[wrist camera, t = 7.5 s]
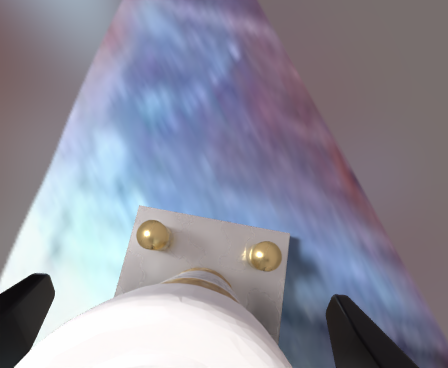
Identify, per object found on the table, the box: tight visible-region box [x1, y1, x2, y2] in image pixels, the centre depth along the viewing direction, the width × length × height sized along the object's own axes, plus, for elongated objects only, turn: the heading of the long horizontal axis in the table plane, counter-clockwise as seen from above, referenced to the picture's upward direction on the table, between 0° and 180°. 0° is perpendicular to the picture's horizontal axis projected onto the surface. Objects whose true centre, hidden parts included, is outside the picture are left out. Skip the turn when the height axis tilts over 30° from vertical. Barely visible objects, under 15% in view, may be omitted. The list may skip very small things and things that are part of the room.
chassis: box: [114, 205, 290, 345], centre depth 15 cm, size 10×10×4 cm
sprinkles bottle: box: [14, 268, 292, 368], centre depth 9 cm, size 5×5×14 cm
